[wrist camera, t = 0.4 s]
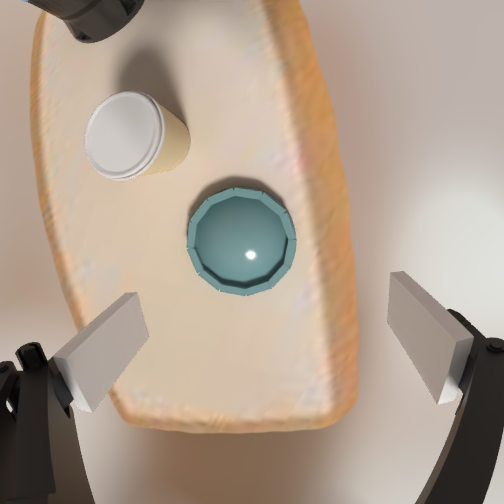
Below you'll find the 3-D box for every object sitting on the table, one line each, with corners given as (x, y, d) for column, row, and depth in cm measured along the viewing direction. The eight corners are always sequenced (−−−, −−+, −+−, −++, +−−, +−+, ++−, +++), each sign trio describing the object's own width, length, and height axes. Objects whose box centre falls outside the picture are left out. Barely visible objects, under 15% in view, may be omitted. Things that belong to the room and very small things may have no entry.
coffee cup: (149, 103, 34) (102, 81, 23) (208, 122, 35) (176, 100, 23) (124, 165, 37) (71, 164, 25) (180, 188, 37) (139, 194, 26)
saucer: (174, 210, 38) (169, 212, 36) (273, 170, 35) (273, 170, 34) (214, 303, 41) (211, 308, 39) (310, 272, 38) (311, 276, 37)
